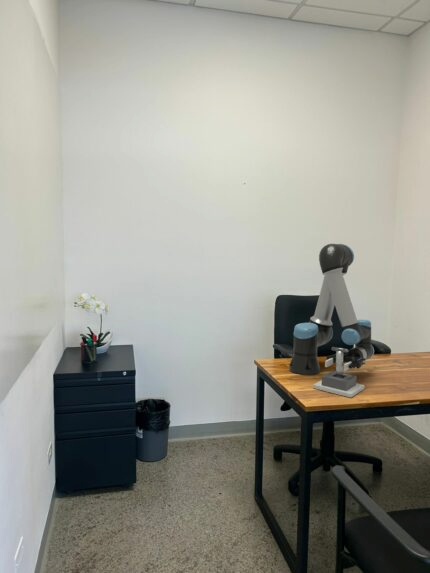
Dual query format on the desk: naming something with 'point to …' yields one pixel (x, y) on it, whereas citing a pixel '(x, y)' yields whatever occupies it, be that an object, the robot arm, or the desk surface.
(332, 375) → the chuck block
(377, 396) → the desk surface
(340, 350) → the chuck key
